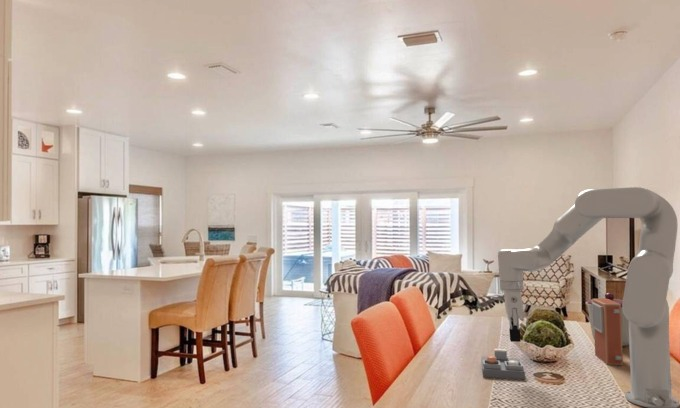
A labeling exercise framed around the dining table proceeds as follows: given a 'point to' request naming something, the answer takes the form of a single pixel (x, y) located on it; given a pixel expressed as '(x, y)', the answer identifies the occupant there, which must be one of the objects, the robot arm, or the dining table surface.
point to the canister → (624, 320)
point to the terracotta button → (491, 359)
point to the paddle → (501, 354)
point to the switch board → (503, 369)
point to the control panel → (607, 331)
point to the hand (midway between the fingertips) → (515, 341)
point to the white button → (513, 362)
